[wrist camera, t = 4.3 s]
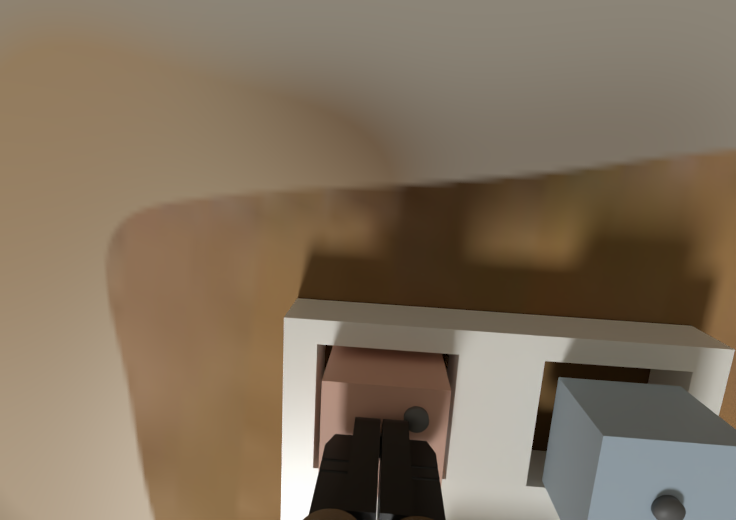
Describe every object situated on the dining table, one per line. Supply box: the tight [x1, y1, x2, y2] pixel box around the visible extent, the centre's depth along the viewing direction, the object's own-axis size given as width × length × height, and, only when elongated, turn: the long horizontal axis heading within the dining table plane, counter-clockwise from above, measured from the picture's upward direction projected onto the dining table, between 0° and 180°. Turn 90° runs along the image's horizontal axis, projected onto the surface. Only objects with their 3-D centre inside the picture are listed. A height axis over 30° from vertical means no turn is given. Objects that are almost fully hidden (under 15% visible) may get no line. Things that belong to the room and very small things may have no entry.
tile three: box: [318, 345, 451, 497], centre depth 14 cm, size 4×4×3 cm
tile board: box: [281, 298, 735, 520], centre depth 16 cm, size 14×15×2 cm
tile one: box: [542, 377, 736, 520], centre depth 13 cm, size 4×4×3 cm
